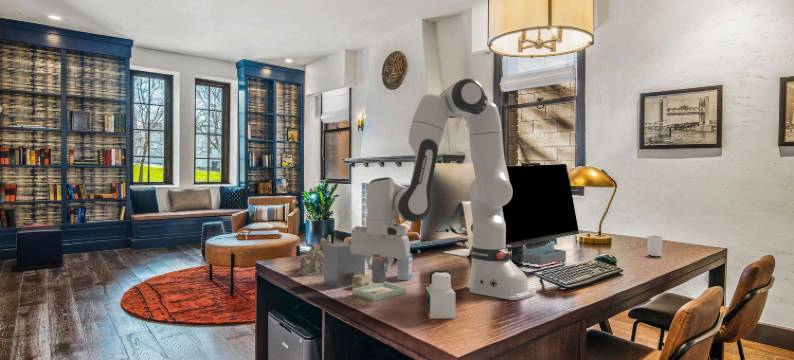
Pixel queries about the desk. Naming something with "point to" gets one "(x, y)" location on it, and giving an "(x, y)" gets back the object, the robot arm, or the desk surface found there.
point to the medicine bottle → (440, 296)
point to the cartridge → (378, 269)
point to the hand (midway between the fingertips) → (379, 270)
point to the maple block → (360, 281)
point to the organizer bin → (545, 257)
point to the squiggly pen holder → (540, 250)
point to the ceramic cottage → (314, 259)
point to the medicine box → (404, 268)
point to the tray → (378, 291)
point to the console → (341, 264)
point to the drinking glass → (654, 245)
